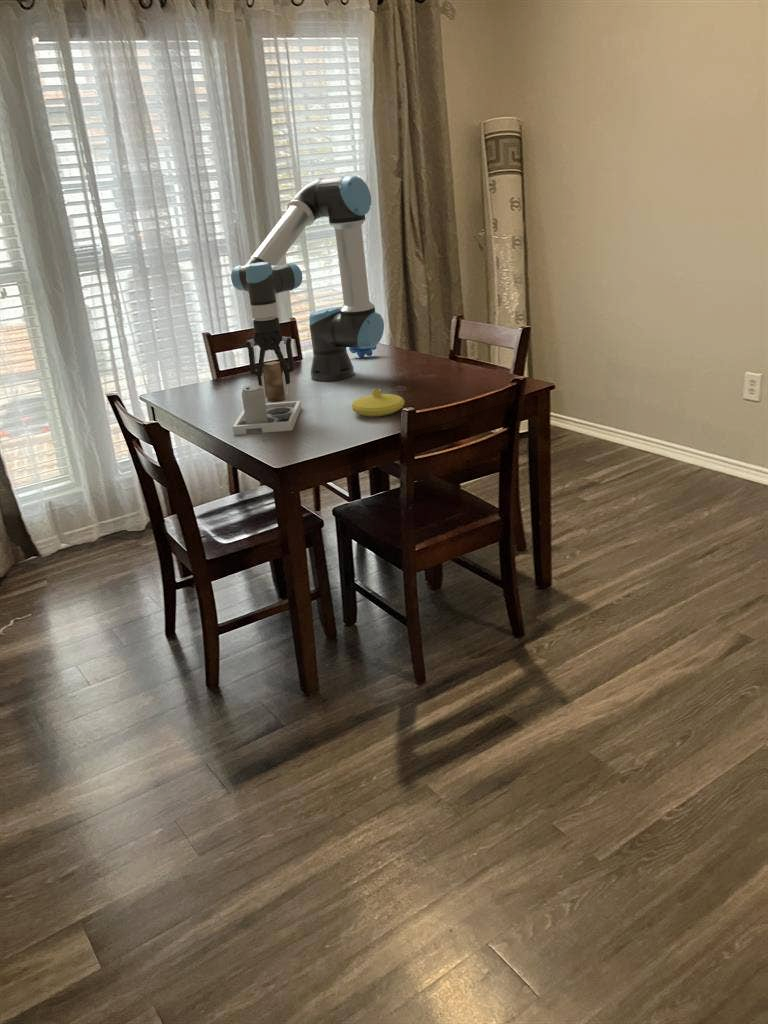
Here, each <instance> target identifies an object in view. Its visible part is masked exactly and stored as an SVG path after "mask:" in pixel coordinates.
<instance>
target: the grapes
mask: <svg viewBox="0 0 768 1024" xmlns="http://www.w3.org/2000/svg"><path fill="white" fill-rule="evenodd" d="M348 349H349V352H350V353H351V354H356V355H357V357H359V358H365V356H367V357H372V355H373V354H374V353H373V351H375V350H377V345H376V346H375V347H373V348H364V349H360V348H350V347H348Z"/></svg>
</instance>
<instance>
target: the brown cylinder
mask: <svg viewBox="0 0 768 1024" xmlns="http://www.w3.org/2000/svg"><path fill="white" fill-rule="evenodd" d="M262 373H263V374H264V379H265V386H266V393H267V397H266V400H267V402H268V403H280V402H285V401H286V400H287V396H285V394H284V387H283V380H282V374H283V373H284V371H283V369H282V367H281V364H280V362H279V361H269V362H268V361H267V362H264V364H263V371H262Z"/></svg>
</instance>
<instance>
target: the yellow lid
mask: <svg viewBox="0 0 768 1024" xmlns="http://www.w3.org/2000/svg"><path fill="white" fill-rule="evenodd" d="M404 406H405V400H404V398H403V397H402V396H400V395H397V394H391V393H382V391H381V389H380V388H374V389H373V390H372V394H371V395H365V396H361V397H359V398H357V399H355V400H354V401H353V403H352V404H351V409H352V411H353V412H354V413H355V414H359V415H361V416H363V417H364V416H365V417H373V418H375V417H383V416H389V415H391V414H394V413H396V412H397V411H399V410H401V409H402V408H403V407H404Z"/></svg>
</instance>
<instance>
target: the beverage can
mask: <svg viewBox="0 0 768 1024" xmlns="http://www.w3.org/2000/svg"><path fill="white" fill-rule="evenodd" d="M241 390H242V391H241V399H242V405H243V409H244V413H245V419H246V425H248V424H260V423H269V422H268V418H267V411H266V404H267V403H266V399H265V397H264V390H263V387H262V386H260V385H259V384H258V385H257V384H254V385H253V384H252V385H246V386H244V387H242V388H241Z"/></svg>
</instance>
